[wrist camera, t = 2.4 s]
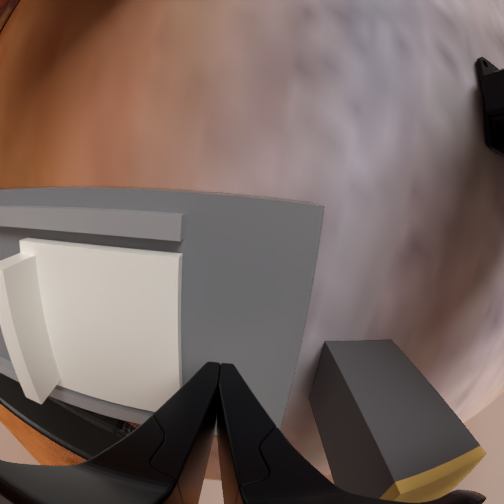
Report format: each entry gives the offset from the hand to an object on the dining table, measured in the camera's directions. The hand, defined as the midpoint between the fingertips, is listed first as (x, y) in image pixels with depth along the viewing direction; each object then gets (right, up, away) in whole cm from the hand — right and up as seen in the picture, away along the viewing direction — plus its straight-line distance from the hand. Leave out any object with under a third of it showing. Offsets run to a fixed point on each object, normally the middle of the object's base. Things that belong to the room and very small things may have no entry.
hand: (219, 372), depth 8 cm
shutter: (-5, +1, +1) cm, 5 cm away
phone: (-15, -8, +6) cm, 18 cm away
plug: (+6, -3, +5) cm, 9 cm away
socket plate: (-7, +2, +4) cm, 8 cm away
